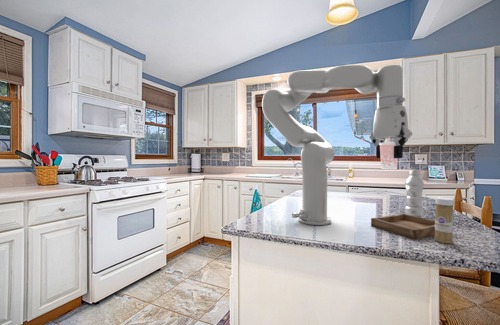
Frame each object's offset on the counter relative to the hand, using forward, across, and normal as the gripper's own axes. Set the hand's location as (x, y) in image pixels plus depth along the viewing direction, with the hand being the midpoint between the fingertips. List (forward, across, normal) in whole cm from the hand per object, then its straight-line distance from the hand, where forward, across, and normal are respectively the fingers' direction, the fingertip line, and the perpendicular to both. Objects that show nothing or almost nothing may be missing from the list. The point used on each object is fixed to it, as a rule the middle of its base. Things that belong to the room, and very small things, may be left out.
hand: (389, 157), depth 85 cm
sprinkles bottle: (+26, -12, -9) cm, 30 cm away
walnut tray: (+26, +1, -11) cm, 28 cm away
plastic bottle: (+26, +12, -28) cm, 40 cm away
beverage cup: (+4, 0, 0) cm, 4 cm away
